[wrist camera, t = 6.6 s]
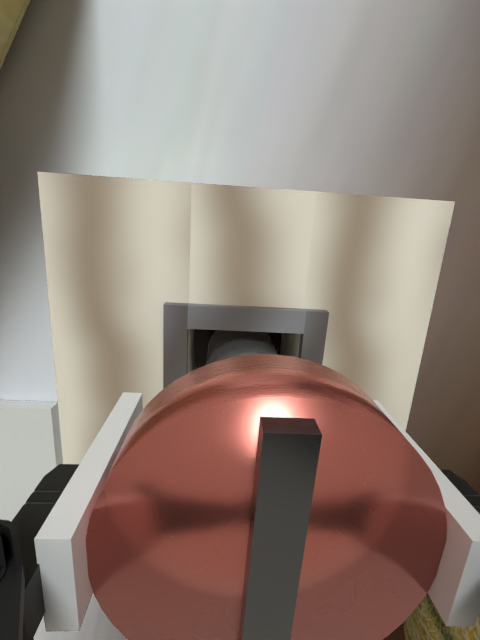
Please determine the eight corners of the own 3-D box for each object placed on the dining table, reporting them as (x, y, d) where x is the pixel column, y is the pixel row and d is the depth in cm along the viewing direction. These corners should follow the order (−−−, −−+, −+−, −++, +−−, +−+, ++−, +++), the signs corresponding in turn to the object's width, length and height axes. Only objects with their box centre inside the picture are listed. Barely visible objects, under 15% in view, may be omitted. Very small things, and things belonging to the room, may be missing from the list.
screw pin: (173, 280, 21) (60, 402, 6) (315, 289, 21) (510, 419, 7) (171, 409, 23) (85, 713, 9) (298, 413, 24) (418, 706, 9)
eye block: (402, 208, 21) (463, 200, 16) (355, 472, 27) (389, 533, 21) (81, 185, 20) (30, 169, 15) (98, 468, 25) (64, 533, 20)
